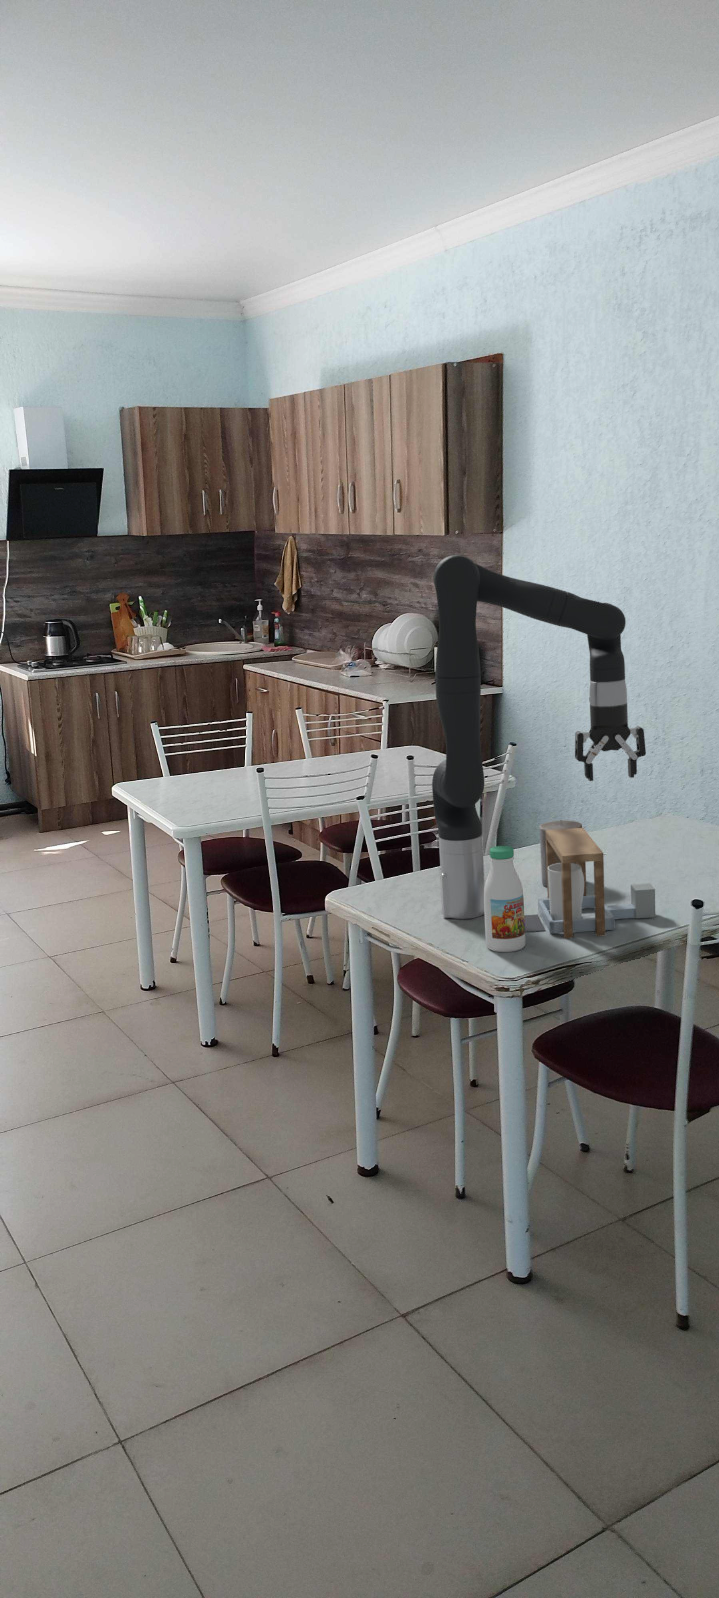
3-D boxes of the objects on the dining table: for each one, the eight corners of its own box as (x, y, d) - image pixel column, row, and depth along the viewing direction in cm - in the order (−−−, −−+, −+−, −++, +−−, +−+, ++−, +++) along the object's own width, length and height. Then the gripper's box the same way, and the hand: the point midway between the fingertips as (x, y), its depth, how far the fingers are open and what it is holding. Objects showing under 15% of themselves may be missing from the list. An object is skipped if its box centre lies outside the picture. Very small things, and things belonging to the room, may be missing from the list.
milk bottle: (479, 950, 228) (474, 851, 224) (497, 937, 234) (492, 841, 230) (514, 955, 224) (510, 855, 220) (532, 942, 230) (528, 844, 226)
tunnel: (564, 938, 231) (562, 855, 227) (548, 906, 251) (545, 830, 247) (605, 935, 231) (603, 853, 227) (585, 904, 251) (583, 827, 247)
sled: (550, 933, 234) (549, 905, 232) (538, 910, 248) (537, 883, 247) (662, 926, 233) (662, 897, 232) (643, 902, 248) (643, 875, 247)
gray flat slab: (516, 933, 236) (516, 932, 236) (509, 917, 246) (509, 916, 246) (545, 931, 236) (545, 930, 236) (537, 915, 246) (537, 914, 246)
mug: (570, 931, 235) (568, 874, 232) (542, 925, 240) (540, 869, 237) (598, 917, 242) (596, 861, 239) (570, 911, 247) (569, 857, 244)
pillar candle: (593, 883, 264) (591, 819, 261) (559, 892, 260) (557, 827, 256) (565, 875, 273) (563, 812, 269) (532, 883, 268) (529, 819, 265)
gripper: (577, 707, 236) (580, 785, 240) (647, 701, 236) (649, 779, 240) (570, 702, 243) (573, 777, 247) (638, 696, 243) (640, 772, 247)
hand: (611, 778), depth 243 cm, fingers open, 8 cm apart
